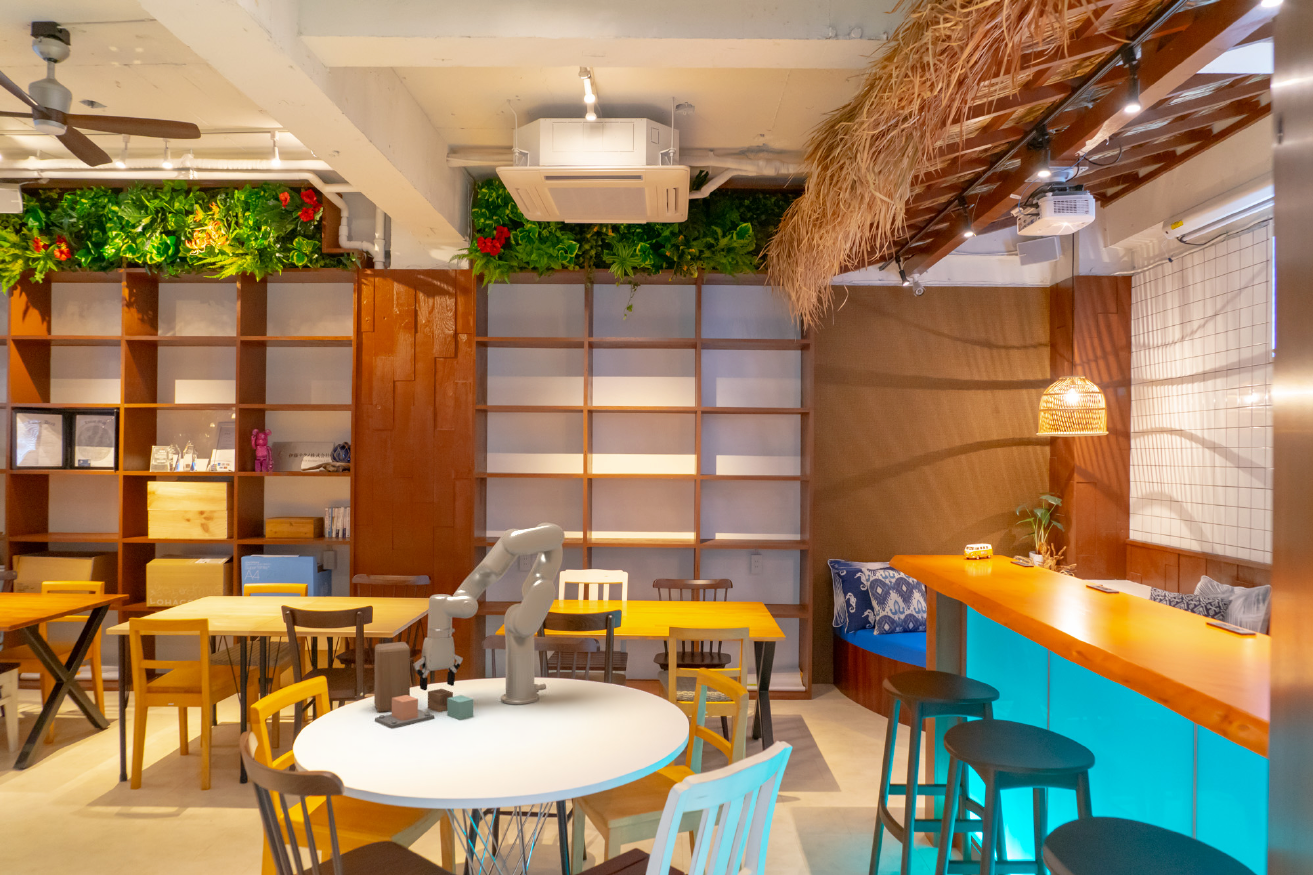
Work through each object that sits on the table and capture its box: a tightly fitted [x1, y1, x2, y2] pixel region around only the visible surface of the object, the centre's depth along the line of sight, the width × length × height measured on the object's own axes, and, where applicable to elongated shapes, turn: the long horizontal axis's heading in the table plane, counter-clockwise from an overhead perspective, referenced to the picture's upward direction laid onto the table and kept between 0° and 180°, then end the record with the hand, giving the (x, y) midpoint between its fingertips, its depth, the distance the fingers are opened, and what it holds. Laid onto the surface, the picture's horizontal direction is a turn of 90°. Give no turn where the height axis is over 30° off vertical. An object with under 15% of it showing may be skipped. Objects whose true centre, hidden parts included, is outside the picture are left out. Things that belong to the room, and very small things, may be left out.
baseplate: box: [374, 695, 435, 729], centre depth 254 cm, size 14×11×6 cm
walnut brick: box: [427, 688, 454, 713], centre depth 266 cm, size 5×7×6 cm
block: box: [373, 641, 411, 713], centre depth 269 cm, size 10×10×20 cm
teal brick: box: [446, 694, 474, 721], centre depth 258 cm, size 5×7×6 cm
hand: (437, 687), depth 266 cm, fingers open, 9 cm apart
